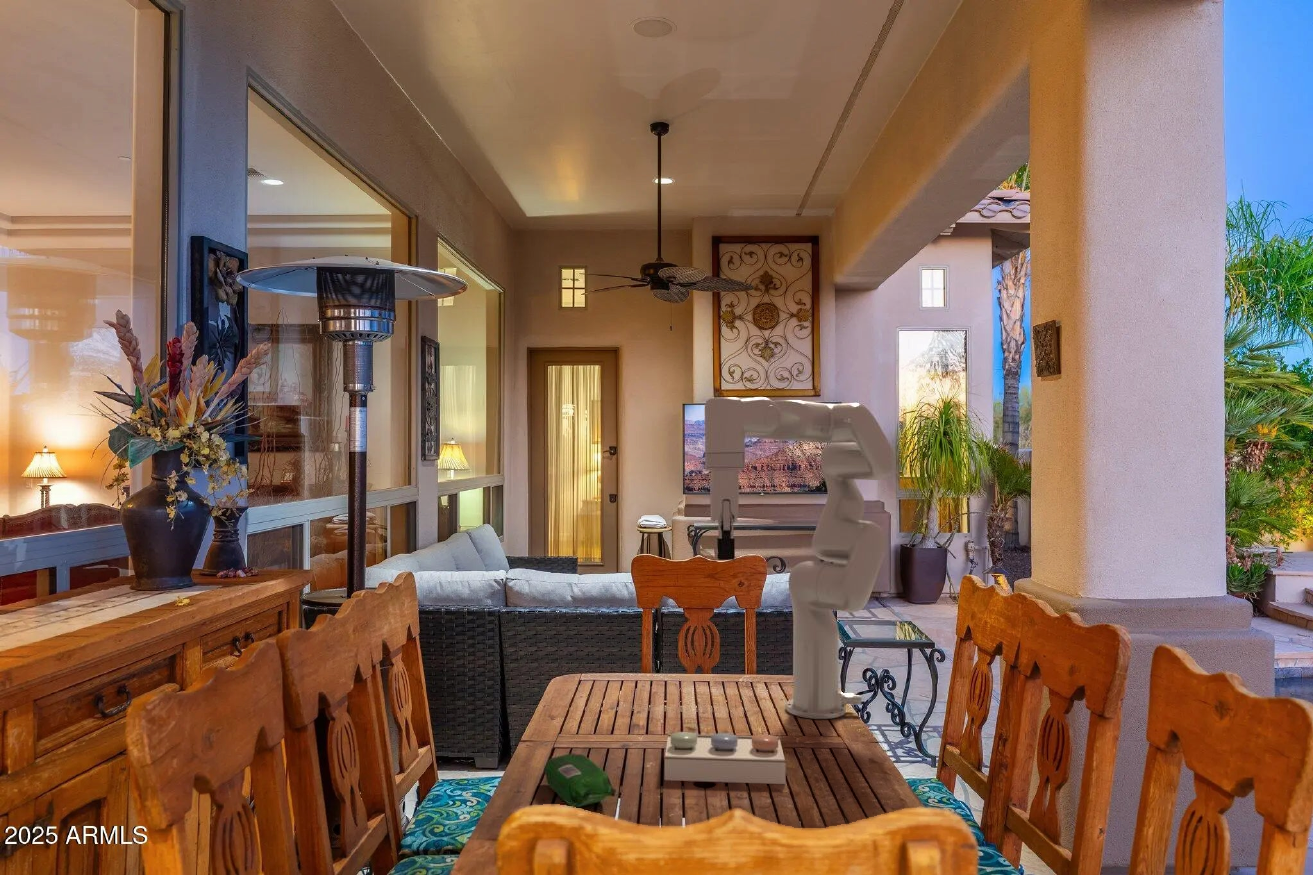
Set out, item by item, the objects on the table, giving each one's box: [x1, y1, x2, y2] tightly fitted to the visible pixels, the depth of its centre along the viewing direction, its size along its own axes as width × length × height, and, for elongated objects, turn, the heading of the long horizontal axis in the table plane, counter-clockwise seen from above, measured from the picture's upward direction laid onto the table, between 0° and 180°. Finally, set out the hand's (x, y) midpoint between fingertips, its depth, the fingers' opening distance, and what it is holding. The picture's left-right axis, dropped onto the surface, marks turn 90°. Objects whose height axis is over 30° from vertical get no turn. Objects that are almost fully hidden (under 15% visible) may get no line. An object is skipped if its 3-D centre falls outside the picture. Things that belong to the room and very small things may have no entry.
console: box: [664, 733, 787, 785], centre depth 146 cm, size 20×12×4 cm, turn 86°
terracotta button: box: [752, 733, 778, 753], centre depth 146 cm, size 5×5×4 cm
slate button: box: [711, 732, 738, 752], centre depth 146 cm, size 5×5×4 cm
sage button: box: [671, 731, 697, 750], centre depth 147 cm, size 5×5×4 cm
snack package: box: [543, 752, 617, 808], centre depth 134 cm, size 7×16×5 cm, turn 27°
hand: (726, 559), depth 160 cm, fingers closed
